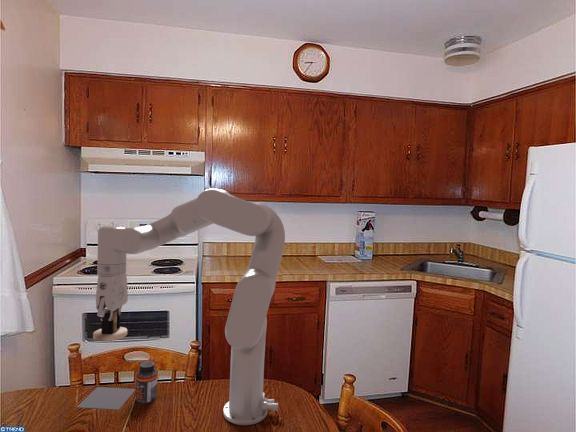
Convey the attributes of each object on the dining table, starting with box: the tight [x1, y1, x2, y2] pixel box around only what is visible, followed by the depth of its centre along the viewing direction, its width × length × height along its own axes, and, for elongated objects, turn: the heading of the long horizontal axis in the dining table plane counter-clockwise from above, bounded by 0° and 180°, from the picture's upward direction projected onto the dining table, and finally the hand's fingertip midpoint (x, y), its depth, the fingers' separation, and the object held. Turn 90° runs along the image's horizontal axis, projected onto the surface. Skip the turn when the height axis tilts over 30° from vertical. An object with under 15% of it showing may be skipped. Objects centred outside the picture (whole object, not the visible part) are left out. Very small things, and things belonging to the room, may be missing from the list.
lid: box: [92, 310, 128, 342], centre depth 107 cm, size 9×9×7 cm
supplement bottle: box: [134, 360, 158, 404], centre depth 108 cm, size 6×6×11 cm
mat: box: [76, 386, 136, 411], centre depth 108 cm, size 12×11×1 cm
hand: (110, 330), depth 107 cm, fingers closed on lid, 3 cm apart
